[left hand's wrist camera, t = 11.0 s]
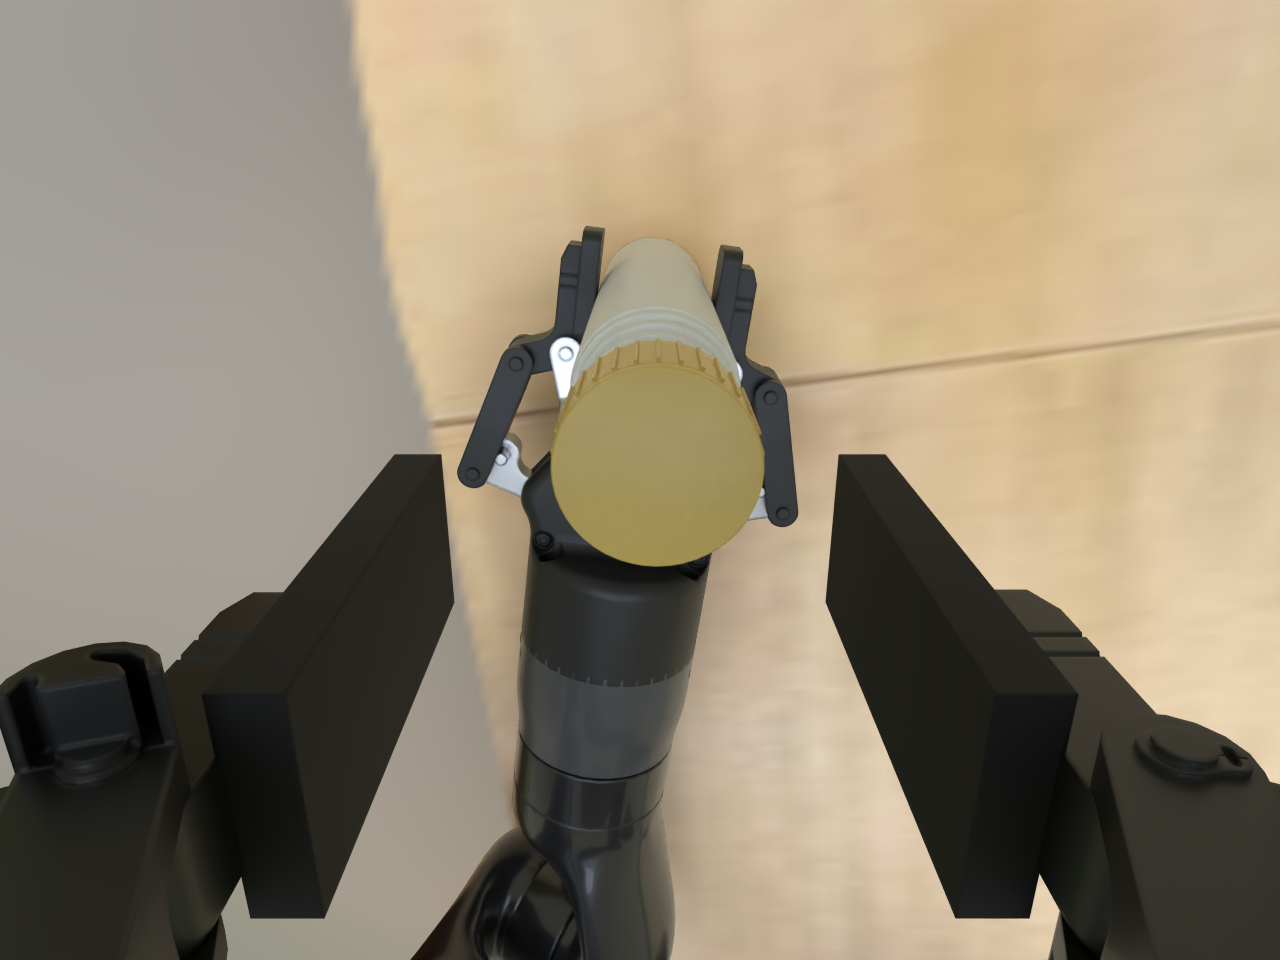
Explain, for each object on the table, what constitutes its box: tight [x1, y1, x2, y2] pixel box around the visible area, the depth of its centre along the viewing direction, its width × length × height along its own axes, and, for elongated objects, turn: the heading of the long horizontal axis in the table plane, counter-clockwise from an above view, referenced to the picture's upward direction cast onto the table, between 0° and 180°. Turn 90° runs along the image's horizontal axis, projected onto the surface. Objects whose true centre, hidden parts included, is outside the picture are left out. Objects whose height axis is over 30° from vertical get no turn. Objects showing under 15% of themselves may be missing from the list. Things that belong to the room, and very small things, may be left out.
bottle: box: [570, 237, 741, 388], centre depth 27 cm, size 4×4×23 cm
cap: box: [550, 338, 765, 566], centre depth 18 cm, size 4×4×2 cm
